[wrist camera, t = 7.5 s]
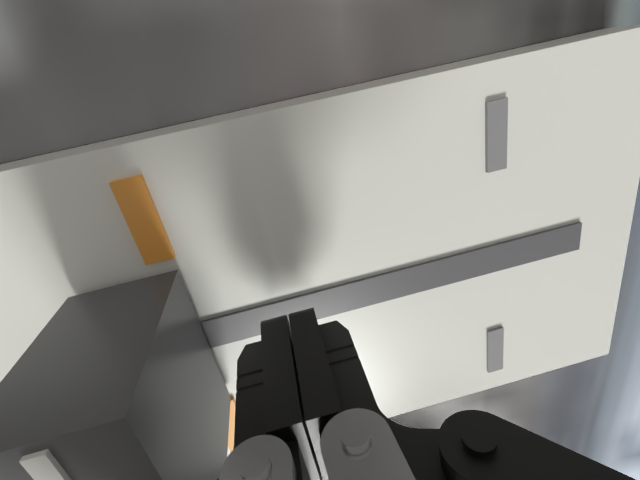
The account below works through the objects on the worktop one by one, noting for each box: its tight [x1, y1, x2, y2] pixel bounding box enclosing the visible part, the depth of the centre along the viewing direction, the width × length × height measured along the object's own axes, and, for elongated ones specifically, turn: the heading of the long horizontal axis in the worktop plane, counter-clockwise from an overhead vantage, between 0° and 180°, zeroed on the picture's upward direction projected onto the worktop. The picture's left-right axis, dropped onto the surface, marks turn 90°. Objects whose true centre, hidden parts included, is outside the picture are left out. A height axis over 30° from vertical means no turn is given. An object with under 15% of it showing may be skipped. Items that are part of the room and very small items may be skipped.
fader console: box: [0, 24, 640, 457], centre depth 13 cm, size 22×12×2 cm, turn 101°
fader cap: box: [0, 270, 231, 480], centre depth 9 cm, size 3×5×5 cm, turn 11°
